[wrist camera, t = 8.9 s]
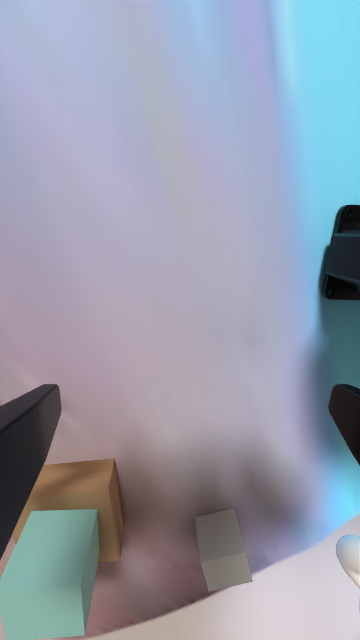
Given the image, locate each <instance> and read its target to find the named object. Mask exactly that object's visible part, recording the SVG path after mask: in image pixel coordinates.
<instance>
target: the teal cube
mask: <svg viewBox="0 0 360 640" xmlns="http://www.w3.org/2000/svg"><path fill="white" fill-rule="evenodd" d="M99 555H100V549H99V529H98V509H81V510H50V511H31V513H30V515H29V518H28V520H27V522H26V524H25V526H24V529H23V531H22V533H21V535H20V537H19V540H18V542H17V544H16V546H15V548H14V551H13V553H12V555H11V557H10V559H9V562H8V564H7V566H6V568H5V570H4V573H3V575H2V577H1V579H0V614H1V618H2V623H3V627H4V632H5V636H6V640H28V639H43V638H57V637H72V636H85V632H86V626H87V621H88V615H89V610H90V604H91V599H92V593H93V588H94V582H95V577H96V571H97V566H98V560H99Z"/></svg>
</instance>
